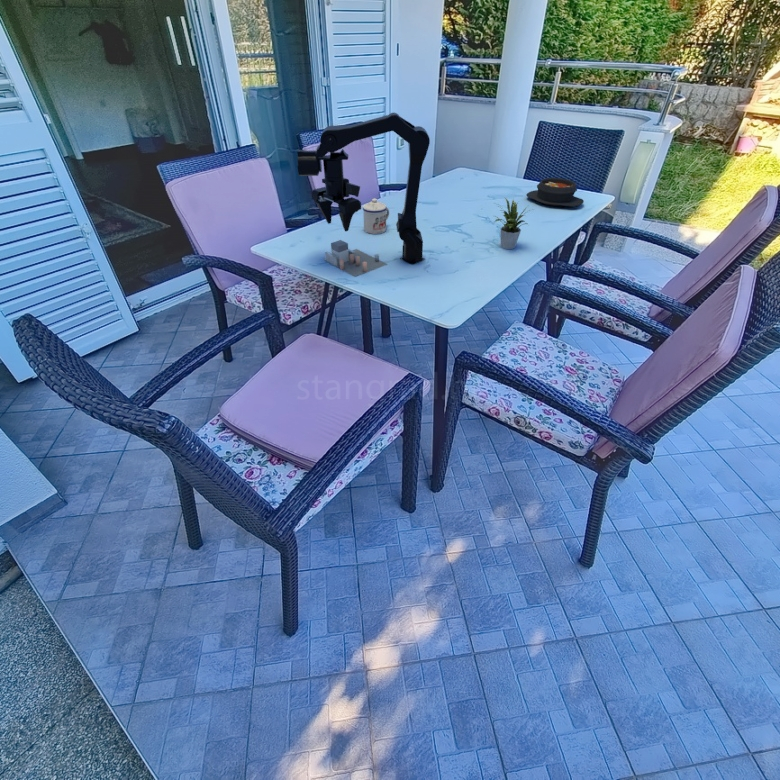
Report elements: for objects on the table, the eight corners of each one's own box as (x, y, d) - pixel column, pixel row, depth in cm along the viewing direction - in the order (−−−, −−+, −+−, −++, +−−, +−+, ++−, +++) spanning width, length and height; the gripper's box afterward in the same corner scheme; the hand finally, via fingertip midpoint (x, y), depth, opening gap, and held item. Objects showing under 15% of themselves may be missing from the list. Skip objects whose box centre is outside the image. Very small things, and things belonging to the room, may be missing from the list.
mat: (387, 265, 149) (387, 264, 149) (355, 278, 142) (354, 276, 142) (356, 250, 159) (356, 248, 158) (324, 261, 152) (324, 260, 151)
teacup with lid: (374, 236, 169) (373, 204, 161) (358, 230, 174) (357, 199, 166) (396, 228, 175) (397, 197, 168) (380, 222, 180) (380, 192, 173)
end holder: (355, 260, 151) (354, 251, 149) (337, 266, 147) (336, 258, 145) (343, 254, 155) (342, 245, 153) (325, 260, 151) (324, 251, 149)
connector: (339, 264, 149) (338, 246, 145) (332, 260, 151) (330, 243, 147) (348, 260, 151) (347, 243, 147) (341, 256, 153) (340, 239, 149)
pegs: (386, 264, 149) (386, 255, 147) (353, 276, 142) (353, 267, 140) (369, 255, 154) (369, 247, 152) (337, 267, 147) (336, 258, 145)
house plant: (478, 240, 165) (483, 194, 155) (510, 235, 169) (518, 190, 158) (498, 255, 155) (506, 207, 144) (532, 249, 159) (542, 202, 148)
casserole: (588, 202, 198) (594, 182, 192) (572, 214, 187) (577, 193, 181) (536, 192, 210) (540, 172, 204) (518, 202, 199) (521, 182, 194)
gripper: (374, 176, 133) (375, 228, 143) (337, 164, 143) (340, 214, 153) (344, 184, 127) (347, 237, 137) (307, 170, 138) (313, 221, 148)
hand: (337, 227), depth 144 cm, fingers open, 9 cm apart
